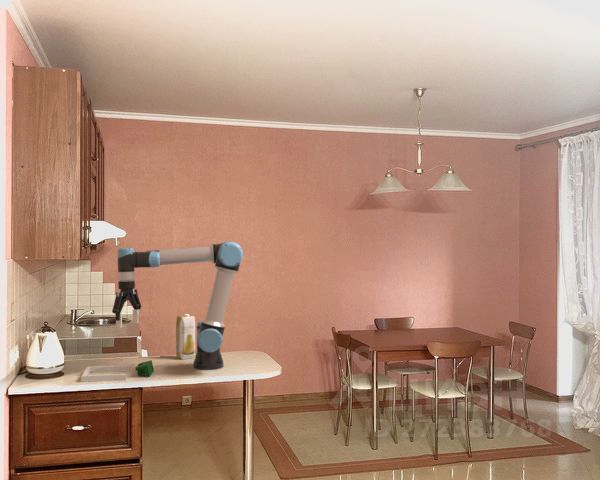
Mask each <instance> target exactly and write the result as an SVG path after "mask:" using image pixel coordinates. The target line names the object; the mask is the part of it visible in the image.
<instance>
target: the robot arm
mask: <svg viewBox="0 0 600 480" xmlns="http://www.w3.org/2000/svg"><path fill="white" fill-rule="evenodd" d="M243 258H244V252H243V248H242V246H240V244H238V242H235V241H224V242H220V243H215V244H214V243H213V244H211V245H210V246H201V247H199V246H198V247H188V248H187V247H186V248H171V249H159V250H157V249H156V250H146V251H145V250H144V251H135V249H134V248H133V247H123V248H122V247H121V248H119V249H117V274H118V275H117V276H118V282H117V283H118V290H119V291H117V292H115V300H114V303H113V306H112V313H113V314H115V327H116V328H120V329H121V328H123V313H122V310H123V308H124V305H125V304H126V302H127V301H129V303H130V305H131V307H132V308H133V309H132V324H139V320H140V319H139V313H140V312H139V310H141V308H142V304H141V301H140V298H139V294H138V289H135V288H136V283H135V282H136V281H135V279H136V277H135V275H136V274H135V269H137V268H139V269H140V268H152V269H153V268H159V267H160V266H165V265H180V264H196V263H197V264H198V263H209V262H211V263H212V264H214V267H215V269H216V272H215V278H214V282H213V286H212V290H211V295H210V299H209V303H208V307H207V311H206V315H205V318H204V319H202V320H201V321H198V322H196V323H197V324H196V352H195V357H194V358H193V359H194V360H193V368H194V369H197V370H218V369H221V368H223V367H224V360H223V357H222V354H221V346H222V345H223V342H224V339H223V337H224V334H225V333H224V332H225V329H226V325H225V324H224V319H225V315H226V310H227V307H228V302H229V299H230V293H231V290H232V285H233V281H234V278H235V277H234V276H235V274H237V273H238V272H239V269H240V265H241V262H242V260H243Z"/></svg>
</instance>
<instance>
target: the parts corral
mask: <svg viewBox="0 0 600 480" xmlns="http://www.w3.org/2000/svg"><path fill="white" fill-rule="evenodd" d="M129 370H130V365H129V364H121V365H97V366H96V365H94V366H87V367H86V369H84V371H83V373H82V375H81V377H80V378H81V379H80V381H81V383H87V382H106V381H107V382H109V381H110V382H111V381H112V380H114V381H126V380H127V373H118V374H117V373H115V374H113V373H112V374H91V373H102V372H103V373H104V372H105V373H107V372H126V371H127V372H129Z"/></svg>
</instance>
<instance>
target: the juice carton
mask: <svg viewBox="0 0 600 480" xmlns="http://www.w3.org/2000/svg"><path fill="white" fill-rule="evenodd" d="M175 356H176V358H177V359H179V360H190V359H195V356H196V317H195V315H192V314H191V315H190V314H188V313H185V314H184V315H177V316H176V319H175Z"/></svg>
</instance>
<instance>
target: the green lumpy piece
mask: <svg viewBox="0 0 600 480" xmlns="http://www.w3.org/2000/svg"><path fill="white" fill-rule="evenodd" d="M134 368H135V371H136V372H137V376H138V377H141V376H144V377H147V378H148V377H151V376H152V375H153V374H154V372H155V368H154V364H153V360H147V361H143V362H139V363H138V365H137V366H135V367H134Z"/></svg>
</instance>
